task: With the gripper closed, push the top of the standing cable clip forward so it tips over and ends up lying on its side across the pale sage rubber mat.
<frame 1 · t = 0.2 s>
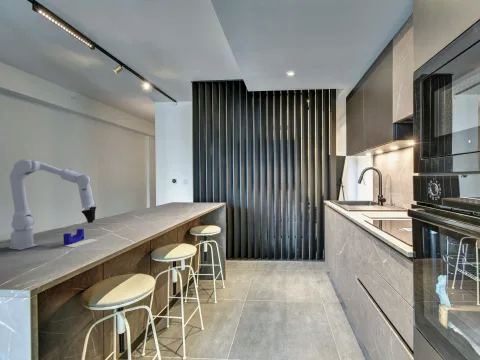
hand: (91, 221, 139), 10 cm above the countertop, tool pointing down, fingers open, 7 cm apart
cable clip: (73, 242, 138), on the countertop
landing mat: (82, 243, 135), on the countertop
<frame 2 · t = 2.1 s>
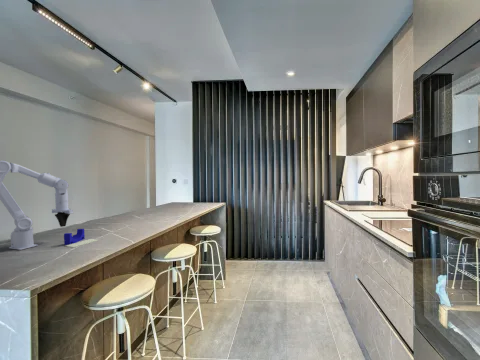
hand: (62, 226, 140), 8 cm above the countertop, tool pointing down, fingers closed
nothing on the countertop moved.
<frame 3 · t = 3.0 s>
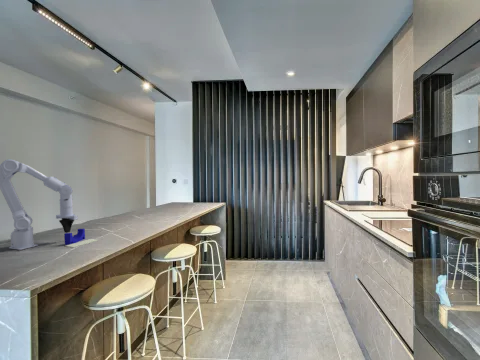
hand: (67, 232, 139), 5 cm above the countertop, tool pointing down, fingers closed
cable clip: (74, 242, 138), on the countertop, touching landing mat
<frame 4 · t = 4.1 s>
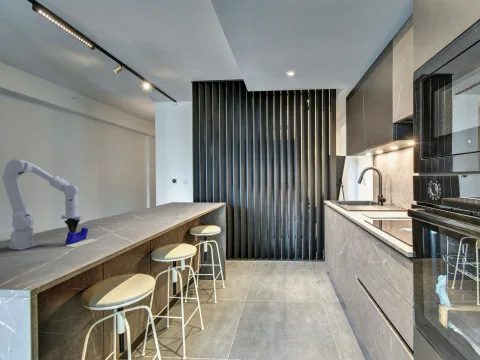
hand: (72, 232, 137), 5 cm above the countertop, tool pointing down, fingers closed
cable clip: (74, 240, 138), on the countertop
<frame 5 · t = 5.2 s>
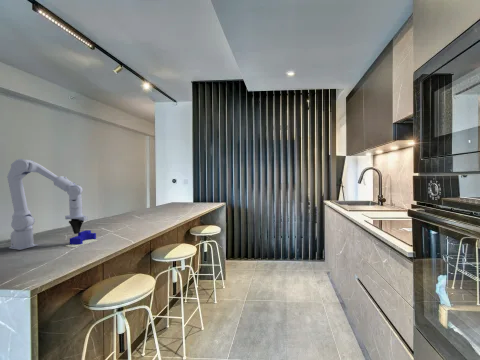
hand: (76, 233, 136), 5 cm above the countertop, tool pointing down, fingers closed
cable clip: (77, 236, 138), point 3 cm above the countertop, touching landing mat
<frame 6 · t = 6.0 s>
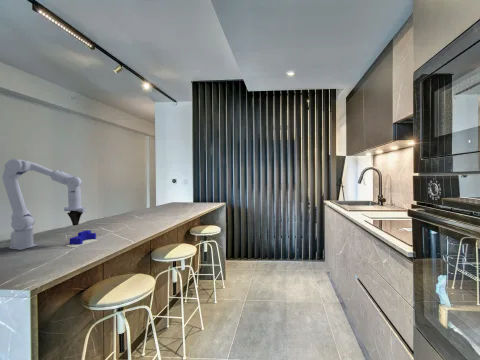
hand: (75, 225, 136), 9 cm above the countertop, tool pointing down, fingers closed
nothing on the countertop moved.
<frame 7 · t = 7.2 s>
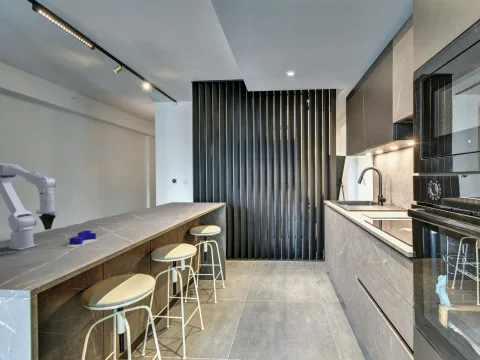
hand: (48, 229, 126), 9 cm above the countertop, tool pointing down, fingers closed
nothing on the countertop moved.
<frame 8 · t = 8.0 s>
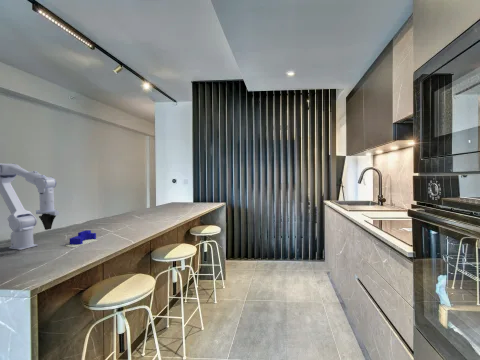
hand: (48, 229, 126), 9 cm above the countertop, tool pointing down, fingers closed
nothing on the countertop moved.
at the end: cable clip tilted 90°; cable clip inside the target area (2.3 cm from its centre), point 2.6 cm above the countertop; the gripper is holding nothing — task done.
